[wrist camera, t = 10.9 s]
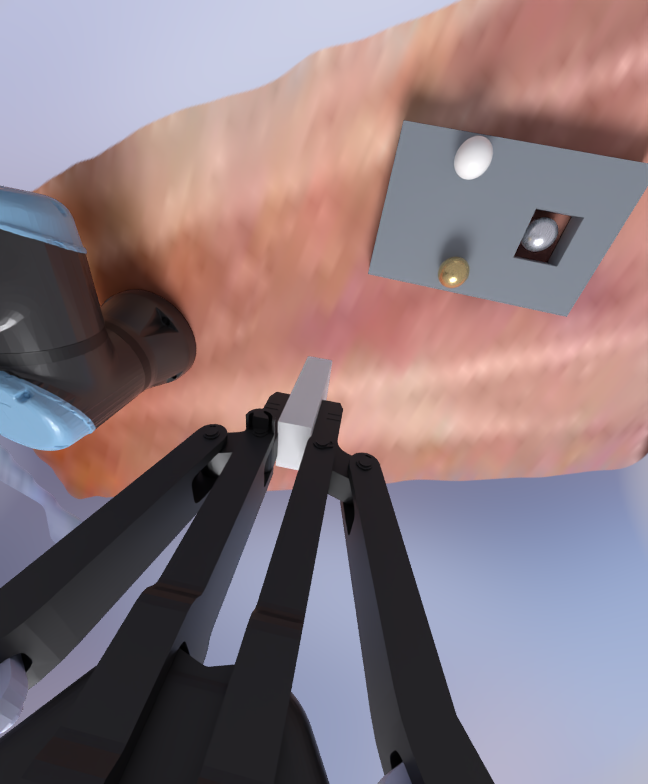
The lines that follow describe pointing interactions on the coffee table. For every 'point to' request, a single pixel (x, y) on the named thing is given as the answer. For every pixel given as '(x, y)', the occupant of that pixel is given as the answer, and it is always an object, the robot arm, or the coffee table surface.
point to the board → (501, 216)
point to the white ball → (473, 157)
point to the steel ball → (540, 234)
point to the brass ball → (453, 272)
